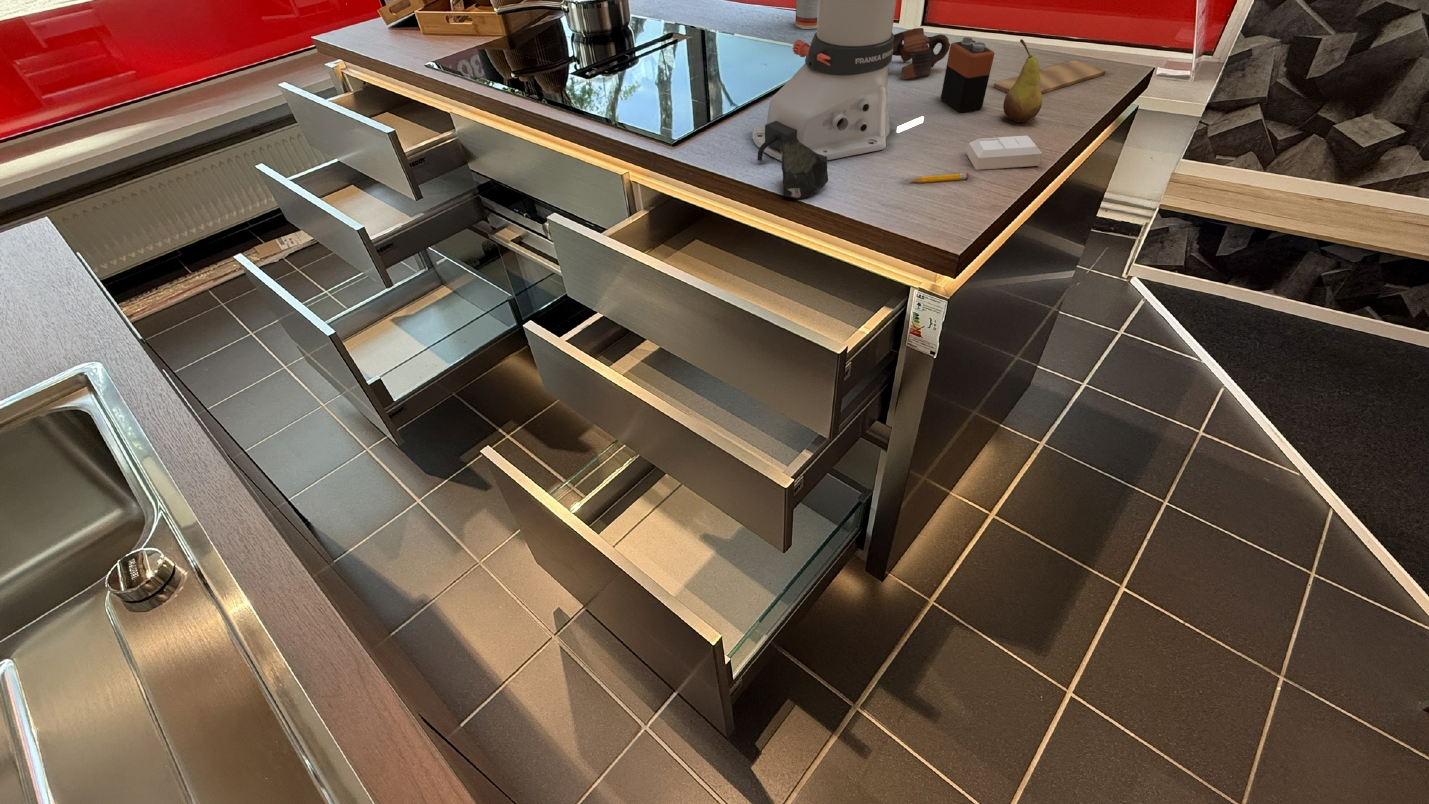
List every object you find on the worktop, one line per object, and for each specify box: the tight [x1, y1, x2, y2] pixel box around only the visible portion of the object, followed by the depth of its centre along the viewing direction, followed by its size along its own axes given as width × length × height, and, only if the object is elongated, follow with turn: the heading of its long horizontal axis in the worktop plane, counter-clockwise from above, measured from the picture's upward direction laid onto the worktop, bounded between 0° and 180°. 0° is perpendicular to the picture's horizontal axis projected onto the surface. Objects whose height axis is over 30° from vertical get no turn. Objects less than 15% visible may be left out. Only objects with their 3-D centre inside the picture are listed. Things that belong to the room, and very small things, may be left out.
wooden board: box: [993, 59, 1107, 95], centre depth 122 cm, size 20×7×1 cm, turn 119°
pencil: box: [908, 172, 970, 184], centre depth 97 cm, size 1×9×1 cm
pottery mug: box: [892, 27, 951, 81], centre depth 127 cm, size 12×10×8 cm
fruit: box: [1003, 38, 1043, 123], centre depth 106 cm, size 6×6×12 cm
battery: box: [940, 36, 995, 113], centre depth 113 cm, size 4×7×10 cm, turn 16°
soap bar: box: [966, 134, 1043, 171], centre depth 100 cm, size 5×9×3 cm, turn 90°
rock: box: [781, 135, 829, 199], centre depth 97 cm, size 9×7×5 cm
